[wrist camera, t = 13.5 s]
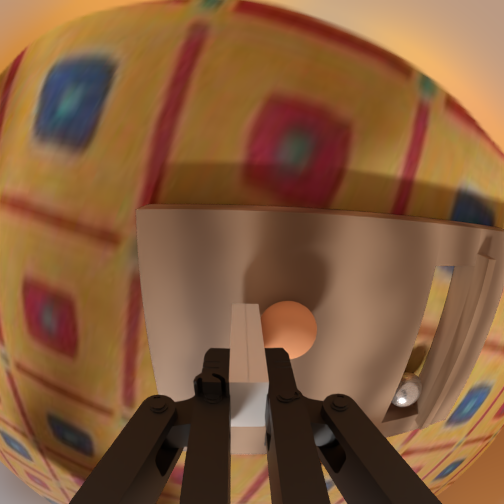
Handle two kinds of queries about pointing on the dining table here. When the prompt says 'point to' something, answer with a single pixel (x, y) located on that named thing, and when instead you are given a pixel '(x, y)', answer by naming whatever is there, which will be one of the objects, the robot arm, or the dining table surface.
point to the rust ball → (289, 328)
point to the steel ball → (407, 390)
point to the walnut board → (320, 299)
